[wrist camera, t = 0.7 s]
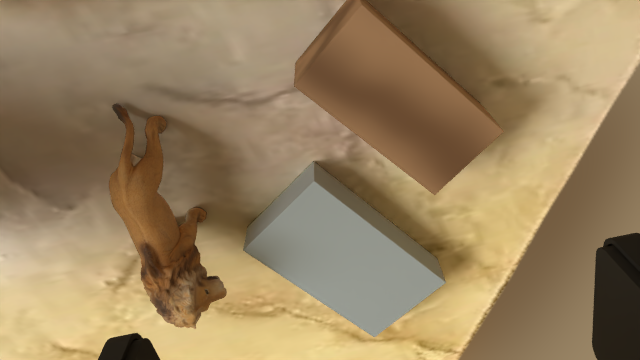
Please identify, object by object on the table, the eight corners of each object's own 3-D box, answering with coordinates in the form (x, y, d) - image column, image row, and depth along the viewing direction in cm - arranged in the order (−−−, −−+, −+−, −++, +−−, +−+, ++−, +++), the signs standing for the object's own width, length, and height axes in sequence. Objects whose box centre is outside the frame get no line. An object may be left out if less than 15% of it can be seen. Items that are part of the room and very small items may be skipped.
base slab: (313, 161, 38) (314, 181, 35) (437, 258, 42) (445, 282, 40) (247, 227, 40) (243, 250, 38) (370, 311, 45) (374, 337, 43)
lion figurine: (244, 245, 41) (229, 327, 34) (187, 265, 42) (159, 350, 34) (148, 87, 35) (101, 144, 27) (83, 115, 35) (19, 177, 28)
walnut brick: (354, -11, 32) (361, 4, 28) (479, 102, 36) (503, 131, 32) (295, 61, 34) (293, 86, 30) (420, 160, 38) (434, 195, 34)
